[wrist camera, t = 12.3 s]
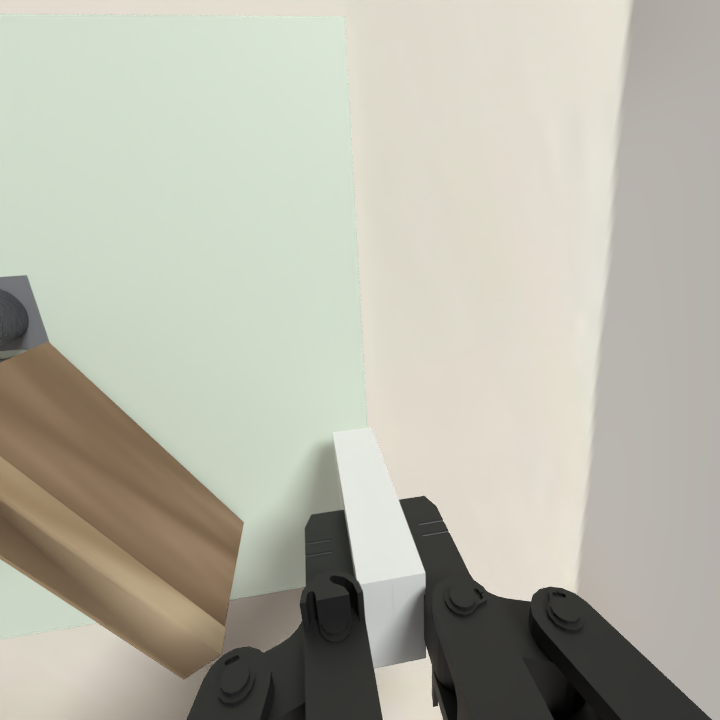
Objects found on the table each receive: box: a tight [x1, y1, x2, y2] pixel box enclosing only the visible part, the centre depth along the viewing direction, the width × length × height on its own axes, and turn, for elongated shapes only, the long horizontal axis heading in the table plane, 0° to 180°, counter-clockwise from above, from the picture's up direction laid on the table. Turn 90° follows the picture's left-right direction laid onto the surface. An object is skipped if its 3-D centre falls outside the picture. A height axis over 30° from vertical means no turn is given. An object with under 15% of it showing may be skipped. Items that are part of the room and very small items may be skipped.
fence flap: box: [0, 341, 244, 679], centre depth 12 cm, size 1×10×6 cm, turn 34°
